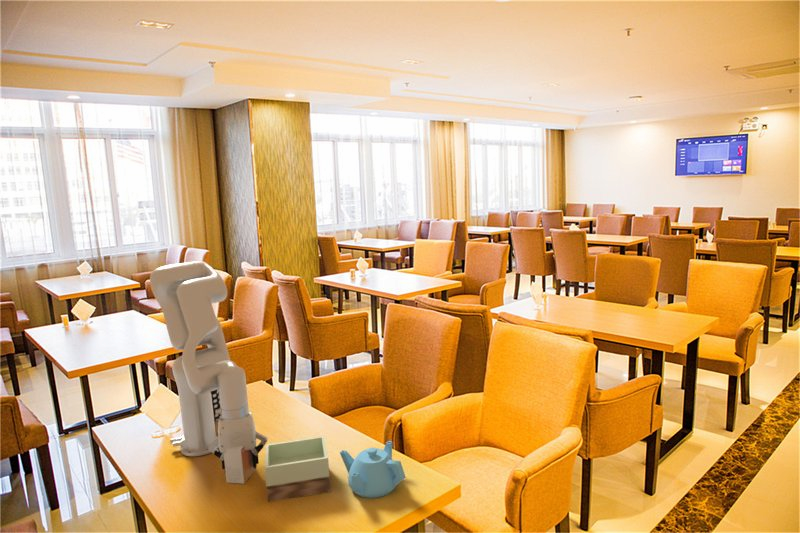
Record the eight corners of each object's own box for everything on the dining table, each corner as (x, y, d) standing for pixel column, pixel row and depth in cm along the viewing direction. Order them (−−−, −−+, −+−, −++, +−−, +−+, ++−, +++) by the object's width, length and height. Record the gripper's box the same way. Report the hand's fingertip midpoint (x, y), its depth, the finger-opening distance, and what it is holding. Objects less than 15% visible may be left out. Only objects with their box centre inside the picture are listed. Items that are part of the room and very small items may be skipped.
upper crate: (266, 486, 141) (264, 467, 140) (267, 461, 154) (265, 444, 153) (329, 476, 145) (328, 458, 144) (325, 452, 157) (324, 435, 156)
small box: (244, 484, 151) (240, 449, 149) (226, 483, 152) (222, 448, 150) (257, 469, 159) (253, 436, 157) (239, 468, 160) (236, 435, 158)
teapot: (351, 507, 138) (348, 469, 136) (341, 477, 152) (338, 442, 150) (408, 495, 142) (406, 458, 140) (392, 467, 156) (391, 432, 154)
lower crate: (268, 502, 142) (266, 486, 141) (268, 476, 154) (267, 461, 154) (330, 491, 145) (329, 476, 145) (326, 466, 158) (325, 452, 157)
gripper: (200, 420, 146) (207, 480, 149) (266, 412, 150) (271, 470, 153) (204, 409, 154) (211, 466, 157) (266, 401, 157) (272, 457, 160)
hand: (241, 468), depth 155 cm, fingers closed on small box, 7 cm apart
